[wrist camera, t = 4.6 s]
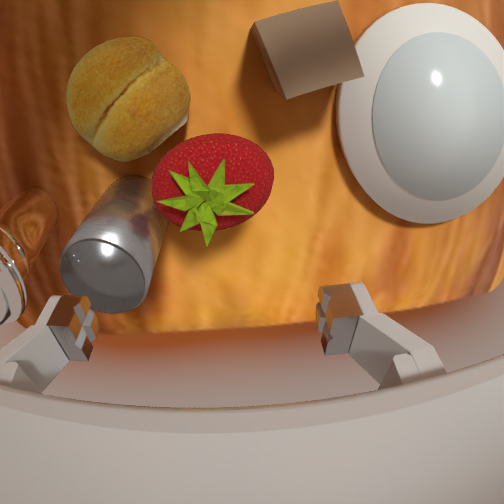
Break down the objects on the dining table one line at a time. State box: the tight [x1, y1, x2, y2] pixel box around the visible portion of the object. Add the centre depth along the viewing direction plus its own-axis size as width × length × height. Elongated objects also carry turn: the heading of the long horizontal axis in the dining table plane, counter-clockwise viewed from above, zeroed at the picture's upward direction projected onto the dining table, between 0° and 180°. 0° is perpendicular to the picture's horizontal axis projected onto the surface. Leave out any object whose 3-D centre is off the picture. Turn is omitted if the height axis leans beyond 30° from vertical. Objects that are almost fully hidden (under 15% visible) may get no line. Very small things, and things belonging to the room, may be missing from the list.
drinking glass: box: [59, 175, 169, 314], centre depth 21 cm, size 6×6×9 cm
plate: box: [335, 3, 504, 224], centre depth 21 cm, size 20×20×1 cm
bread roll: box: [66, 36, 190, 162], centre depth 18 cm, size 8×9×4 cm
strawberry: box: [152, 134, 274, 247], centre depth 19 cm, size 6×8×10 cm
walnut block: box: [250, 1, 364, 100], centre depth 17 cm, size 5×5×5 cm
